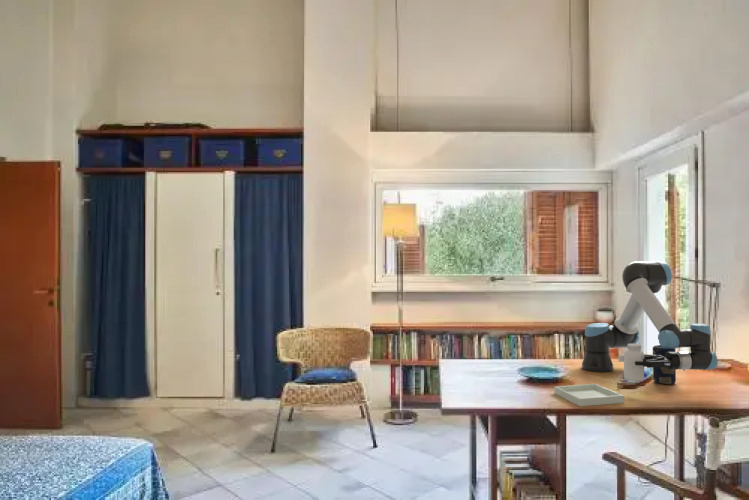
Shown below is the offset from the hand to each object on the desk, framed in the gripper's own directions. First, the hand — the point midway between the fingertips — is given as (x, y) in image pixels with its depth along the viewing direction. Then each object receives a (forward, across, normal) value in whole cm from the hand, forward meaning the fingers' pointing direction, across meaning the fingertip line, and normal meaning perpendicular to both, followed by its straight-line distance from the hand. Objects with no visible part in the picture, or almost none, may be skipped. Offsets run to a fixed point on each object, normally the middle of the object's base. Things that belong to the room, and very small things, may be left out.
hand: (622, 360), depth 241 cm
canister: (-26, +20, -15) cm, 36 cm away
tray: (+16, -6, -15) cm, 23 cm away
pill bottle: (-5, 0, -8) cm, 9 cm away
